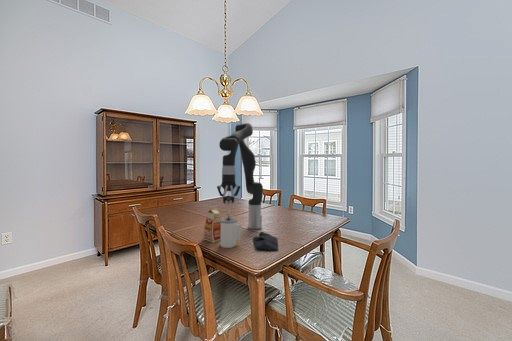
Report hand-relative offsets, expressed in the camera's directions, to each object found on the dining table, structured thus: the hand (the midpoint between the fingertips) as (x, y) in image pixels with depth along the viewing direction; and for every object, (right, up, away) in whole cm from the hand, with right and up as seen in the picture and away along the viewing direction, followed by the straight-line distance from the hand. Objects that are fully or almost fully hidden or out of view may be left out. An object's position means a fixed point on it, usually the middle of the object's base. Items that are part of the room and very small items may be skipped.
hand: (228, 203), depth 138 cm
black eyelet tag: (+22, -25, +4) cm, 34 cm away
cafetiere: (+1, -25, +2) cm, 25 cm away
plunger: (0, -12, +1) cm, 12 cm away
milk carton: (-11, -24, +11) cm, 29 cm away
